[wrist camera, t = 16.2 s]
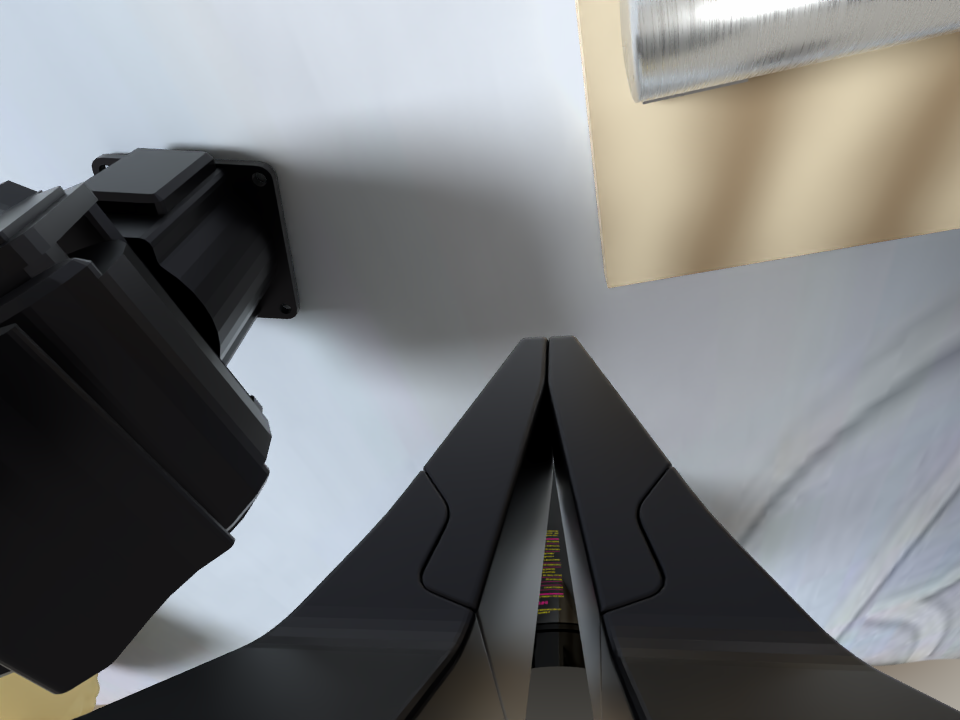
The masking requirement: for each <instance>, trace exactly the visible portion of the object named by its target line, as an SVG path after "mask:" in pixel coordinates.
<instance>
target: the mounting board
mask: <svg viewBox="0 0 960 720" xmlns="http://www.w3.org/2000/svg"><path fill="white" fill-rule="evenodd" d="M575 3H576V12H577V22H578V31H579V40H580V50H581V59H582V68H583V78H584V87H585V96H586V106H587V115H588V124H589V134H590V143H591V152H592V162H593V171H594V181H595V190H596V199H597V209H598V218H599V227H600V237H601V246H602V255H603V265H604V274H605V279H606V282H607V286H608V288H613V287H619V286H625V285H630V284H636V283H642V282H648V281H654V280H660V279H666V278H672V277H677V276H683V275H689V274H695V273H701V272H707V271H713V270H718V269H724V268H730V267H736V266H742V265H748V264H754V263H760V262H765V261H771V260H777V259H783V258H789V257H795V256H801V255H807V254H812V253H818V252H824V251H830V250H836V249H842V248H848V247H853V246H859V245H865V244H871V243H877V242H883V241H889V240H895V239H900V238H906V237H912V236H918V235H924V234H930V233H936V232H941V231H947V230H953V229H959V228H960V32H956V33H951V34H946V35H942V36H937V37H933V38H928V39H924V40H919V41H915V42H910V43H906V44H901V45H897V46H892V47H888V48H883V49H879V50H874V51H870V52H865V53H861V54H856V55H852V56H847V57H842V58H838V59H833V60H829V61H824V62H820V63H815V64H811V65H806V66H802V67H797V68H793V69H788V70H784V71H779V72H775V73H770V74H766V75H761V76H757V77H752V78H748V82H743V83H739V84H734V85H729V86H725V87H720V88H716V89H711V90H707V91H702V92H698V93H693V94H689V95H684V96H679V97H675V98H670V99H666V100H661V101H657V102H652V103H648V104H642V102H639V103H635V102H634V100H633V98H632V95H631V92H630V89H629V85H628V80H627V75H626V69H625V63H624V56H623V47H622V37H621V24H620V0H575Z"/></svg>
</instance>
